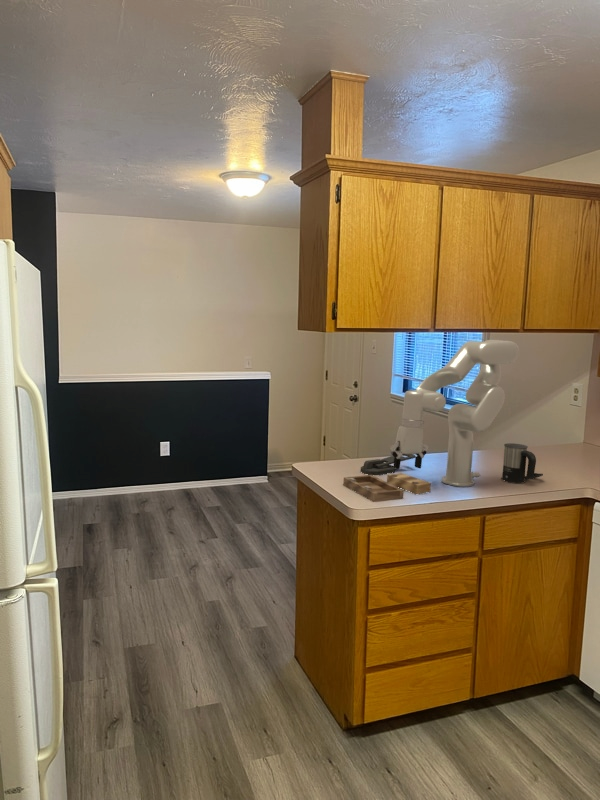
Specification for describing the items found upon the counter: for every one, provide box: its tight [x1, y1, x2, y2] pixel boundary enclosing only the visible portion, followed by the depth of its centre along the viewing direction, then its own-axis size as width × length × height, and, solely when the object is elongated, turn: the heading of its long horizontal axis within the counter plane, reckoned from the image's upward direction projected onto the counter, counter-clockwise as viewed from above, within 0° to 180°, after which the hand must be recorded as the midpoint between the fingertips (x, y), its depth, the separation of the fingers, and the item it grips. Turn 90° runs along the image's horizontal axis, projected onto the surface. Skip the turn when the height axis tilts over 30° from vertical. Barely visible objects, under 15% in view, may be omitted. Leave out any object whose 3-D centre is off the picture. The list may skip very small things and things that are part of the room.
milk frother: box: [501, 442, 544, 484], centre depth 247 cm, size 14×16×15 cm
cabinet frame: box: [343, 475, 405, 503], centre depth 223 cm, size 22×12×4 cm, turn 25°
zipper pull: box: [360, 454, 417, 476], centre depth 254 cm, size 9×7×25 cm
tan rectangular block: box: [386, 472, 432, 495], centre depth 229 cm, size 16×7×4 cm, turn 36°
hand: (407, 468), depth 228 cm, fingers open, 9 cm apart
